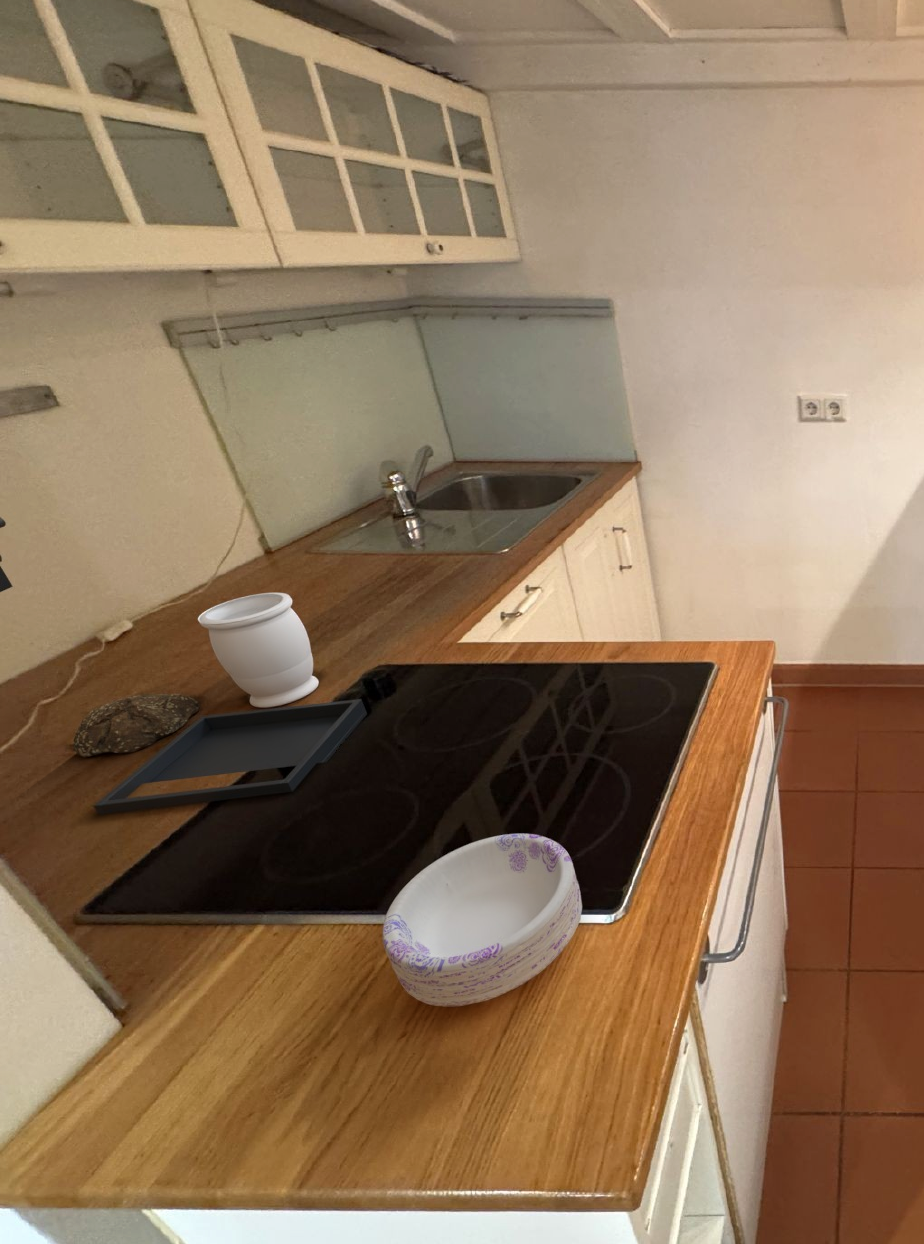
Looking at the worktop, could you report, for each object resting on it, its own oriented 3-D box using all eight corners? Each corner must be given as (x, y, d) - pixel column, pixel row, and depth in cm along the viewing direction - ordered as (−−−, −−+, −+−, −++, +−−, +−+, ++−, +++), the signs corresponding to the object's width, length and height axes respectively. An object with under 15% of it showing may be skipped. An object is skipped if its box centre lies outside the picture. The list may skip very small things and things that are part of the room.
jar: (254, 721, 100) (208, 630, 94) (233, 698, 106) (188, 610, 99) (338, 688, 108) (301, 602, 101) (314, 669, 113) (278, 585, 107)
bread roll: (104, 718, 102) (87, 690, 100) (209, 699, 106) (194, 671, 104) (53, 770, 91) (32, 739, 89) (171, 746, 95) (154, 716, 93)
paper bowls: (608, 883, 72) (593, 825, 68) (555, 1026, 58) (533, 963, 55) (460, 891, 71) (437, 833, 68) (371, 1037, 58) (337, 974, 54)
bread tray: (104, 822, 82) (92, 805, 81) (209, 730, 98) (201, 715, 97) (296, 799, 85) (287, 782, 84) (367, 713, 101) (361, 698, 100)
